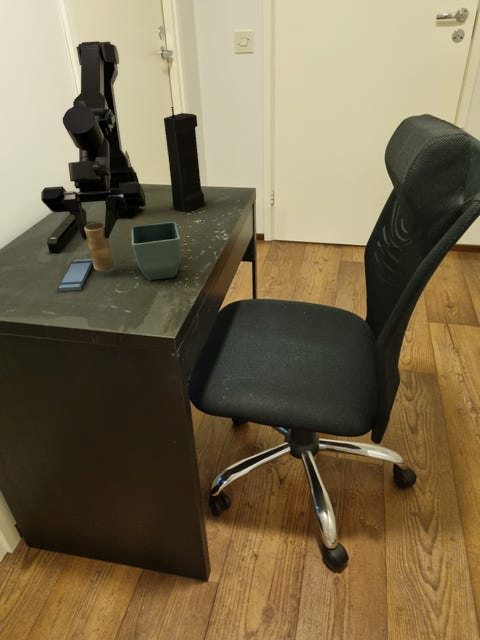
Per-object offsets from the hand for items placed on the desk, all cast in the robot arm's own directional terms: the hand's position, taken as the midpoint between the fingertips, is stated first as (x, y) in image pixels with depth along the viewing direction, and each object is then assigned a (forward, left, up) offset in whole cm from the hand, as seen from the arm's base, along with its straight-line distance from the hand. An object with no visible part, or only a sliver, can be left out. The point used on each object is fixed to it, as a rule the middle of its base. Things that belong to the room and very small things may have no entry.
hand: (95, 238), depth 89 cm
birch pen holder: (0, +1, -7) cm, 7 cm away
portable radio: (+2, +40, -8) cm, 41 cm away
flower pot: (+11, +4, -8) cm, 14 cm away
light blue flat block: (-6, -1, -8) cm, 10 cm away
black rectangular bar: (-20, +16, -9) cm, 27 cm away
